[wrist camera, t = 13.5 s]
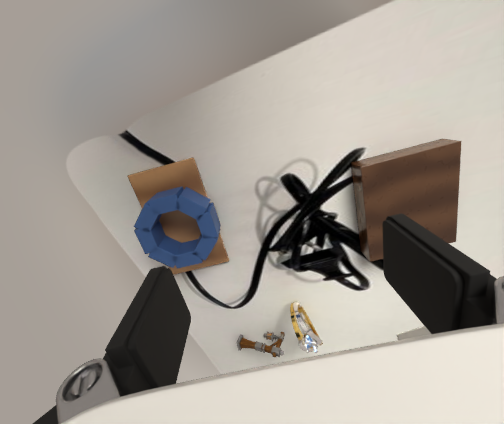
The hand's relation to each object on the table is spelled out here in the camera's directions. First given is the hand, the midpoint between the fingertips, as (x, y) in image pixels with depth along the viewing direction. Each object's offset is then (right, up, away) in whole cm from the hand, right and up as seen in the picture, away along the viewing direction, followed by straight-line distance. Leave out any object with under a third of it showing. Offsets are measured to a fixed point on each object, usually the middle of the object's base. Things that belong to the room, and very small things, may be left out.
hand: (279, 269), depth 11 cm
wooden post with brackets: (0, -19, +33) cm, 38 cm away
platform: (+20, +4, +24) cm, 32 cm away
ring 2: (+7, -13, +31) cm, 34 cm away
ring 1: (-11, +1, +24) cm, 26 cm away
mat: (-11, +1, +25) cm, 27 cm away
